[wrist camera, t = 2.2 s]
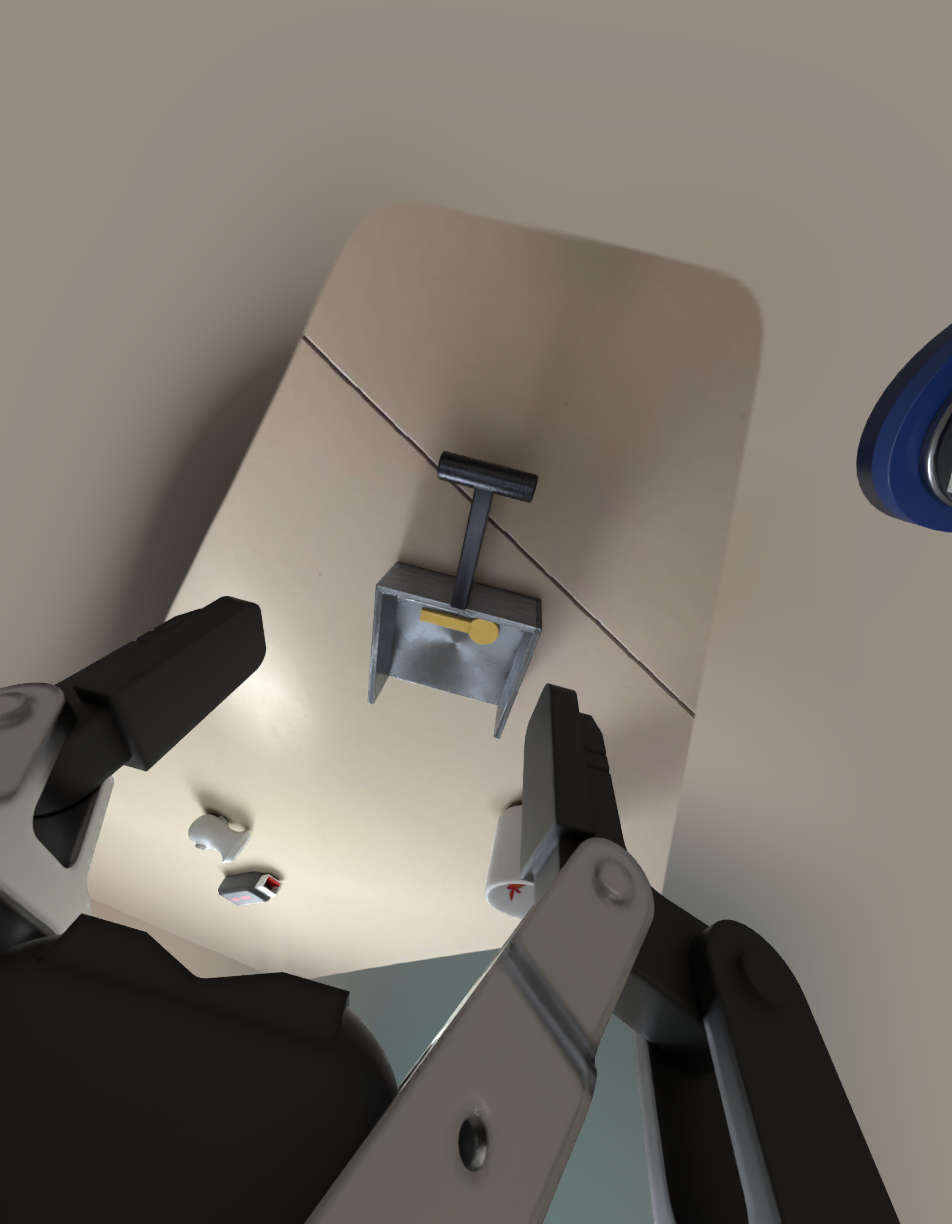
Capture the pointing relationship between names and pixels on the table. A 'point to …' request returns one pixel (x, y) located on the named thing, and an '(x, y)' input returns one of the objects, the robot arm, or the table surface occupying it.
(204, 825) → the smooth white sculpture
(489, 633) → the yellow spoon
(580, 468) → the table surface
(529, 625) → the metal dustpan with handle
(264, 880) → the usb drive
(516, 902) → the cup
